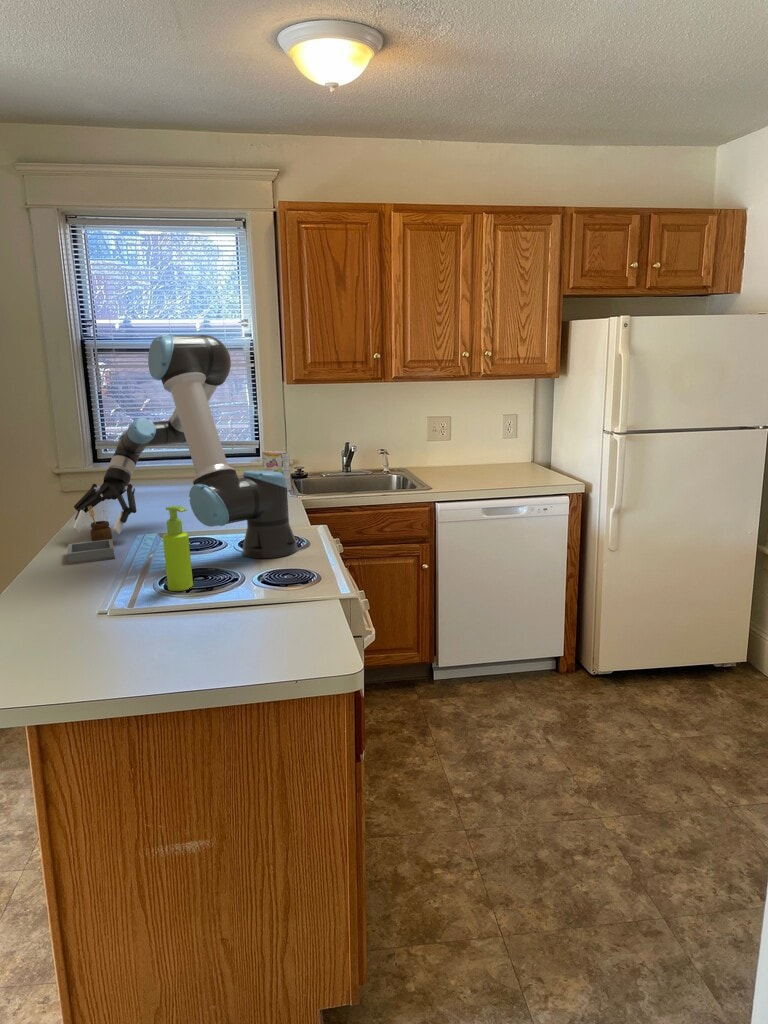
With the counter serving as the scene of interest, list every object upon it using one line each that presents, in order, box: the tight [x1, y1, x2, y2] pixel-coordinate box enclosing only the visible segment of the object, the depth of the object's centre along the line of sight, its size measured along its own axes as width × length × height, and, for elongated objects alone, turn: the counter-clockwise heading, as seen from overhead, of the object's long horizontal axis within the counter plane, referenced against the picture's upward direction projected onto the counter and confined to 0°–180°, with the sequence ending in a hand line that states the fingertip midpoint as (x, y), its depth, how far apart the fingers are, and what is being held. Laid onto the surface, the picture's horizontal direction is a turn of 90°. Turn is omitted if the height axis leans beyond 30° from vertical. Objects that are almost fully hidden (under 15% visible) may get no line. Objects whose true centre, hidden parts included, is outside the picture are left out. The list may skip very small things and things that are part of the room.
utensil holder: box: [88, 506, 113, 542], centre depth 214 cm, size 6×6×12 cm
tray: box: [66, 538, 116, 565], centre depth 202 cm, size 12×12×3 cm
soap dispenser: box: [162, 505, 194, 592], centre depth 169 cm, size 6×7×20 cm
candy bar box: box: [261, 450, 292, 492], centre depth 295 cm, size 11×5×16 cm, turn 58°
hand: (96, 530), depth 212 cm, fingers open, 13 cm apart
